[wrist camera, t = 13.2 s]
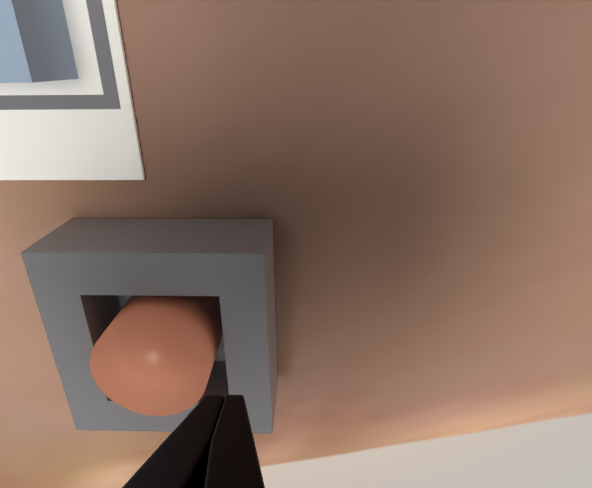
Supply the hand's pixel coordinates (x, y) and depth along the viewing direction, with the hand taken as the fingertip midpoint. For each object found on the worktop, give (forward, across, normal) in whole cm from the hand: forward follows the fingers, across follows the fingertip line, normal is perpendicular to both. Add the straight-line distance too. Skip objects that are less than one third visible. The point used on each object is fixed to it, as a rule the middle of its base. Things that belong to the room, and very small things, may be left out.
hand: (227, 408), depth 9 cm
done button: (+11, +5, +5) cm, 13 cm away
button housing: (+12, +5, +5) cm, 14 cm away
